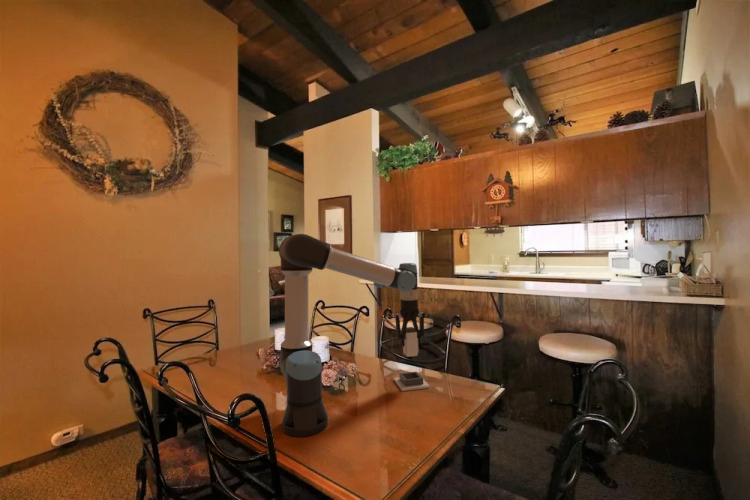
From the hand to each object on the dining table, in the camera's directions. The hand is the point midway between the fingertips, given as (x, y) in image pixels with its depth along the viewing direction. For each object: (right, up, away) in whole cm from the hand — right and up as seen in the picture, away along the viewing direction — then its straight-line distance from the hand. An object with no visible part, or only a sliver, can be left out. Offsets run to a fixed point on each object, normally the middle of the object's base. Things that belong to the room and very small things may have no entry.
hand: (410, 353), depth 145 cm
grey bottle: (0, -1, 0) cm, 1 cm away
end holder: (0, -13, 0) cm, 13 cm away
